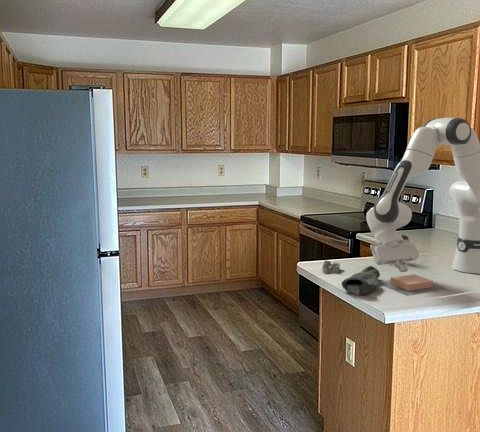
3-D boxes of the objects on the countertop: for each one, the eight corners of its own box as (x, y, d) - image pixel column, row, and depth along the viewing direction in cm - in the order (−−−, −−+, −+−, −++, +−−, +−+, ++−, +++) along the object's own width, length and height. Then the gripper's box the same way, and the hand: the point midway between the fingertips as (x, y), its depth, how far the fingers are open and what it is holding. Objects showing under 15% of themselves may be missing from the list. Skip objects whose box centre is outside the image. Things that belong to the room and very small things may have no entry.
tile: (414, 274, 204) (433, 281, 195) (413, 280, 204) (432, 287, 195) (390, 277, 199) (408, 284, 190) (390, 284, 199) (408, 291, 190)
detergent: (369, 298, 184) (391, 281, 204) (368, 279, 183) (391, 263, 203) (336, 294, 191) (360, 278, 211) (335, 276, 190) (359, 261, 210)
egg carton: (325, 267, 226) (325, 258, 226) (341, 269, 224) (341, 260, 223) (320, 273, 217) (320, 264, 216) (337, 275, 214) (338, 266, 214)
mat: (413, 278, 210) (413, 276, 210) (447, 290, 194) (447, 289, 194) (374, 283, 202) (374, 282, 202) (406, 297, 186) (406, 295, 185)
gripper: (372, 239, 201) (387, 269, 194) (412, 235, 209) (428, 264, 202) (364, 248, 206) (379, 278, 198) (404, 244, 214) (419, 272, 207)
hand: (404, 271), depth 200 cm, fingers closed
